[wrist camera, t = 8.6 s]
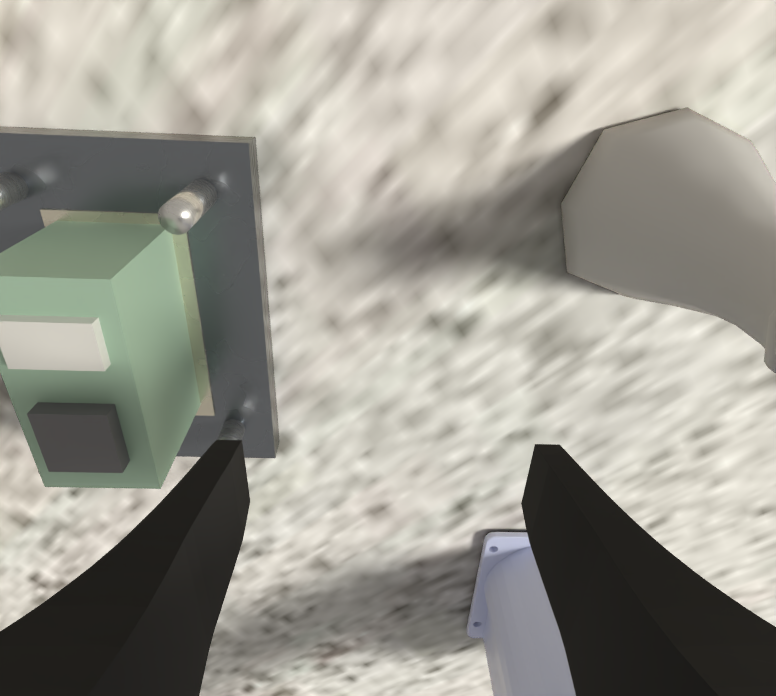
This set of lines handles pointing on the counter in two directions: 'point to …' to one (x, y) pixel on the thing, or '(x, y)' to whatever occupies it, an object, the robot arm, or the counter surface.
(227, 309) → the chassis
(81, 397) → the module
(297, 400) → the counter surface
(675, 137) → the flask
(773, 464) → the counter surface
